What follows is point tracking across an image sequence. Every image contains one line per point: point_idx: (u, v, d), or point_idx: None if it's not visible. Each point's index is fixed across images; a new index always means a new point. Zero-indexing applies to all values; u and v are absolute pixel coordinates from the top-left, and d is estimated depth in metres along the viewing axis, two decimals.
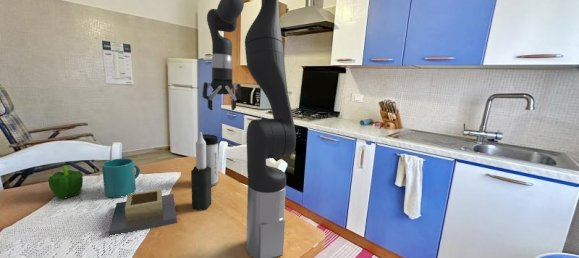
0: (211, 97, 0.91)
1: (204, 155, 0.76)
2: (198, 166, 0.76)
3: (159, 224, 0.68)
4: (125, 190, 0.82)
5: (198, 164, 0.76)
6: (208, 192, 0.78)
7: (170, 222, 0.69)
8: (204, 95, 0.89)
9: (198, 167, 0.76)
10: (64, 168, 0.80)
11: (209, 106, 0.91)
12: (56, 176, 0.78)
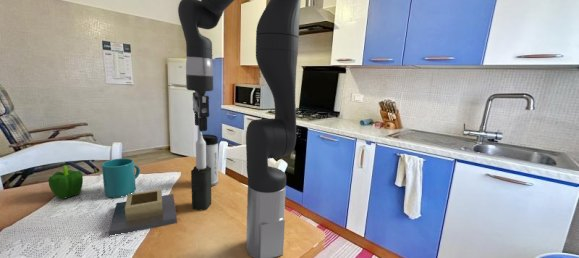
0: None
1: (204, 155, 0.76)
2: (198, 166, 0.76)
3: (159, 224, 0.68)
4: (125, 190, 0.82)
5: (198, 164, 0.76)
6: (208, 192, 0.78)
7: (170, 222, 0.69)
8: (208, 113, 0.68)
9: (198, 167, 0.76)
10: (64, 168, 0.80)
11: (205, 126, 0.70)
12: (56, 176, 0.78)
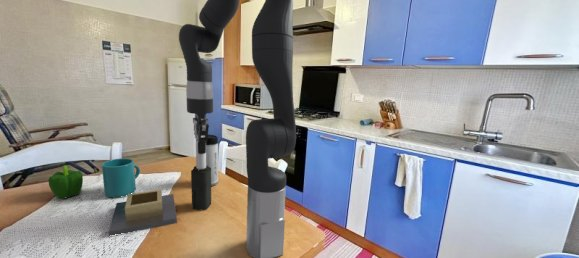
0: None
1: (204, 155, 0.76)
2: (198, 166, 0.76)
3: (159, 224, 0.68)
4: (125, 190, 0.82)
5: (198, 164, 0.76)
6: (208, 192, 0.78)
7: (170, 222, 0.69)
8: None
9: (198, 167, 0.76)
10: (64, 168, 0.80)
11: None
12: (56, 176, 0.78)
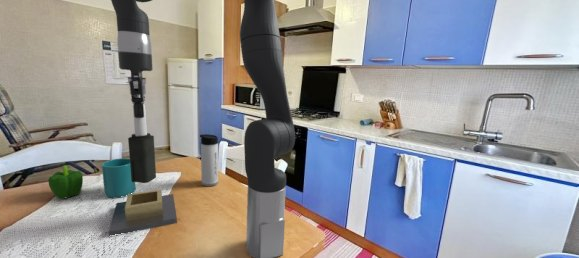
0: None
1: (143, 120, 0.67)
2: (136, 132, 0.67)
3: (159, 224, 0.68)
4: (125, 190, 0.82)
5: (136, 130, 0.67)
6: (149, 162, 0.69)
7: (170, 222, 0.69)
8: (142, 98, 0.63)
9: (136, 134, 0.67)
10: (64, 168, 0.80)
11: (141, 112, 0.65)
12: (56, 176, 0.78)
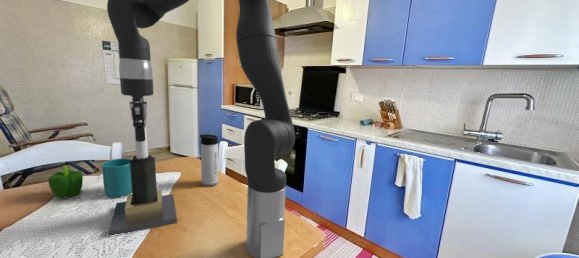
0: (144, 123, 0.67)
1: (144, 143, 0.68)
2: (137, 155, 0.68)
3: (159, 224, 0.68)
4: (125, 190, 0.82)
5: (137, 153, 0.68)
6: (150, 184, 0.70)
7: (170, 222, 0.69)
8: (144, 123, 0.64)
9: (138, 156, 0.68)
10: (64, 168, 0.80)
11: (143, 136, 0.66)
12: (56, 176, 0.78)
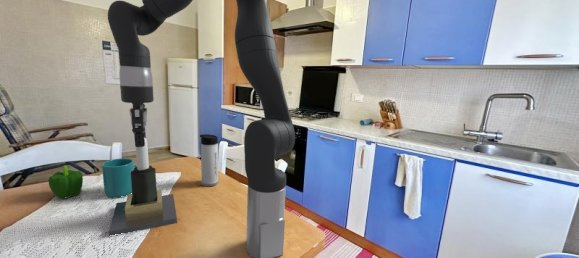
0: None
1: (145, 154, 0.69)
2: (138, 167, 0.69)
3: (159, 224, 0.68)
4: (125, 190, 0.82)
5: (138, 164, 0.68)
6: (151, 195, 0.71)
7: (170, 222, 0.69)
8: (143, 127, 0.62)
9: (138, 168, 0.69)
10: (64, 168, 0.80)
11: (142, 141, 0.65)
12: (56, 176, 0.78)
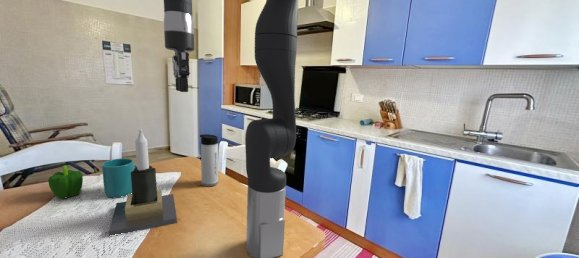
0: None
1: (145, 155, 0.69)
2: (138, 167, 0.69)
3: (159, 224, 0.68)
4: (125, 190, 0.82)
5: (138, 164, 0.68)
6: (151, 195, 0.71)
7: (170, 222, 0.69)
8: None
9: (138, 168, 0.69)
10: (64, 168, 0.80)
11: (186, 86, 0.66)
12: (56, 176, 0.78)
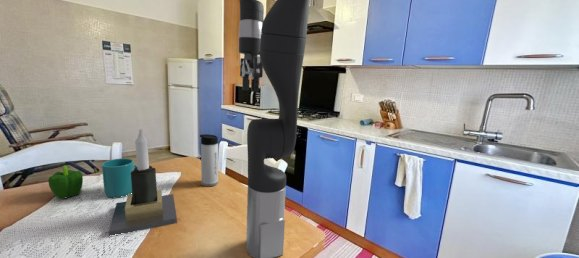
0: None
1: (145, 155, 0.69)
2: (138, 167, 0.69)
3: (159, 224, 0.68)
4: (125, 190, 0.82)
5: (138, 164, 0.68)
6: (151, 195, 0.71)
7: (170, 222, 0.69)
8: None
9: (138, 168, 0.69)
10: (64, 168, 0.80)
11: (257, 87, 0.74)
12: (56, 176, 0.78)
